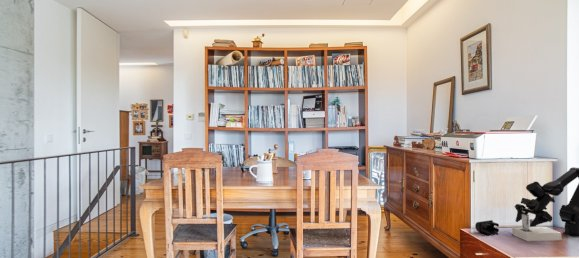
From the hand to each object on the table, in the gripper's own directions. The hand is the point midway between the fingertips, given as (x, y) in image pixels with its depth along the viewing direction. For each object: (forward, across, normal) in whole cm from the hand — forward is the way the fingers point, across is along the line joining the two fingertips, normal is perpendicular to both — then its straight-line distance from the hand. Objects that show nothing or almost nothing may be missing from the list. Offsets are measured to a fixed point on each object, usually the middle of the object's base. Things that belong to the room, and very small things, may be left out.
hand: (523, 223), depth 168 cm
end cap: (+15, -11, -4) cm, 19 cm away
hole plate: (0, +1, +10) cm, 10 cm away
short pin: (-4, -7, +14) cm, 17 cm away
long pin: (+4, 0, +6) cm, 8 cm away
